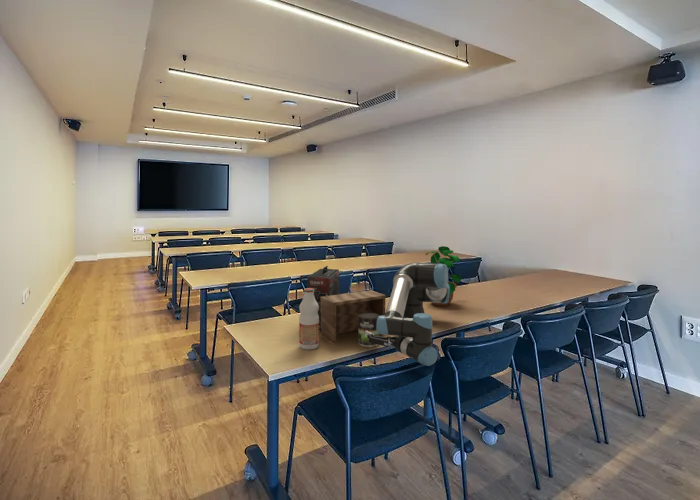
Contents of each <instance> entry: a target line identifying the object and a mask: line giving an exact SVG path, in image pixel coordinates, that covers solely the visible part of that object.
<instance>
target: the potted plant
mask: <svg viewBox="0 0 700 500" xmlns="http://www.w3.org/2000/svg"><path fill="white" fill-rule="evenodd" d="M437 250H438V251H439V252H440V253H439V252H438V251H429V252H427V253H425V256H427V255H428V254H432V255H431V257H430V263H432V264H439V263H440V264H445V265H446V266H447V268H448V269H450V268H452V267H454V268H455V267H456V265H455V264H454V263H459V262H460V261H461V258H460V257H459V256H458V255H453V253H454V250H451V249H450V248H449V246H439V247H438V248H437ZM440 254H441V255H442V256H441V255H440ZM448 277H449V278H450V279H451V280H452V281H453V282H452V281H448V284H449V287H450V293H449V301H448V303H443V304H442V303H432V305H434V306H435V307H436V306H437V307H447V306H448V305H450V304H451V303H452V301H453V298H454V292H455V291H456V288H457V287H458V285H457V284H459V283H461V282H462V277H461V275H459V274H457V273H453V274H450V275H449V274H448Z"/></svg>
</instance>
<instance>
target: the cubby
mask: <svg viewBox="0 0 700 500" xmlns="http://www.w3.org/2000/svg"><path fill="white" fill-rule="evenodd" d="M361 313H376V314H378V315H379V316H383V315H384V316H385V313H386V294H384V293H380V292H377V291H374V290H372V289H370V290H362V291H354V292H347V293H339V294H338V295H331V296H323V297H321V331H320V336H321V337H322V338H323V339H325V340H327V341H328V342H330V343H331V344H333V345H334V344H337V333H338V334H342V333H347V332H352V331H358V321H359V317H358V315H359V314H361Z"/></svg>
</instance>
